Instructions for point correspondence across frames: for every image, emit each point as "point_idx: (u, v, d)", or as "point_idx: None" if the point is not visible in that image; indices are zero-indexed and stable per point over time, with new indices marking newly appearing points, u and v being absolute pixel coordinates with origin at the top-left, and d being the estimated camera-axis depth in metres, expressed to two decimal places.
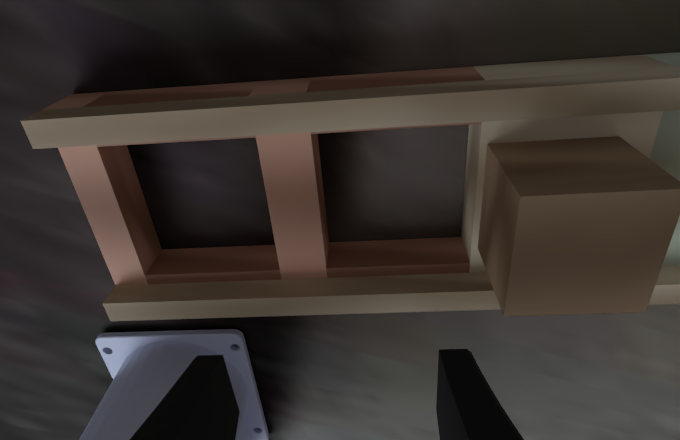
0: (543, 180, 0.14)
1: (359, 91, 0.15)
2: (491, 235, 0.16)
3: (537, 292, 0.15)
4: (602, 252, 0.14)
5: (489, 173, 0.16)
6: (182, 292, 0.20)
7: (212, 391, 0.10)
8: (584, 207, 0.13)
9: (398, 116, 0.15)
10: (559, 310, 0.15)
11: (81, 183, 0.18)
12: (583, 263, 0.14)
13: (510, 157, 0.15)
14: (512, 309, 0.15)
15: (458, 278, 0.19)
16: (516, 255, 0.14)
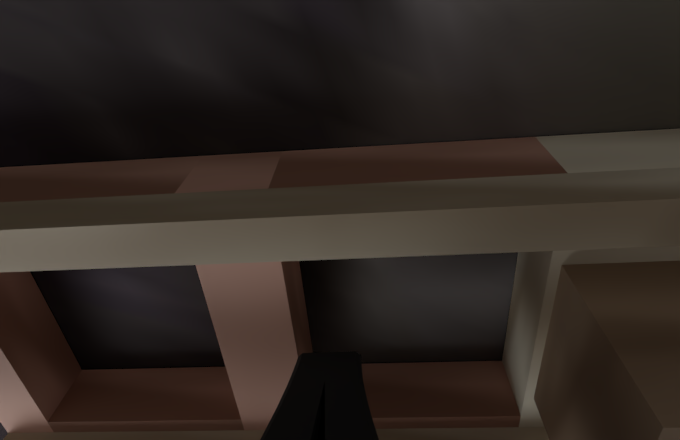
0: None
1: (356, 192, 0.09)
2: (568, 412, 0.10)
3: None
4: None
5: (566, 314, 0.10)
6: None
7: None
8: None
9: (423, 241, 0.09)
10: None
11: None
12: None
13: (611, 303, 0.09)
14: None
15: (504, 437, 0.13)
16: None
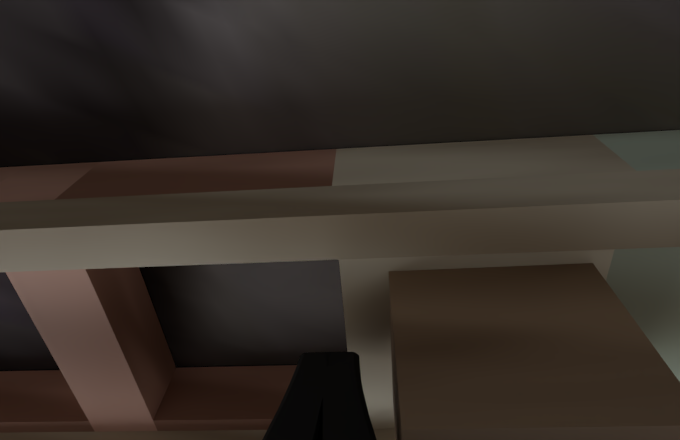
0: (451, 381, 0.08)
1: (129, 203, 0.09)
2: (395, 414, 0.10)
3: None
4: None
5: None
6: None
7: None
8: None
9: (180, 251, 0.09)
10: None
11: None
12: None
13: (415, 309, 0.09)
14: None
15: None
16: None
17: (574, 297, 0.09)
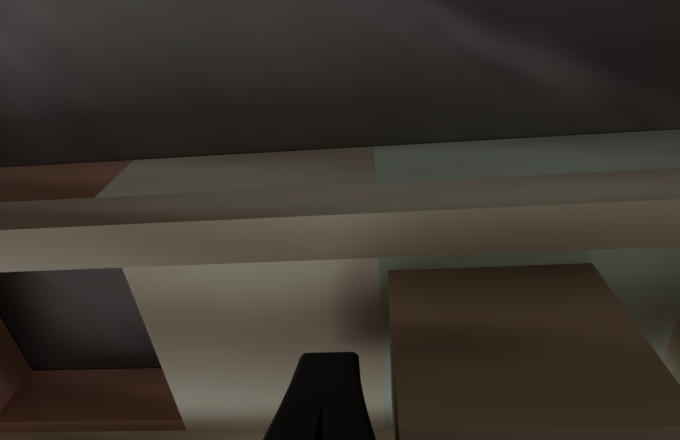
0: (450, 380, 0.08)
1: None
2: None
3: None
4: None
5: None
6: None
7: None
8: None
9: None
10: None
11: None
12: None
13: (413, 308, 0.09)
14: None
15: None
16: None
17: (573, 297, 0.09)
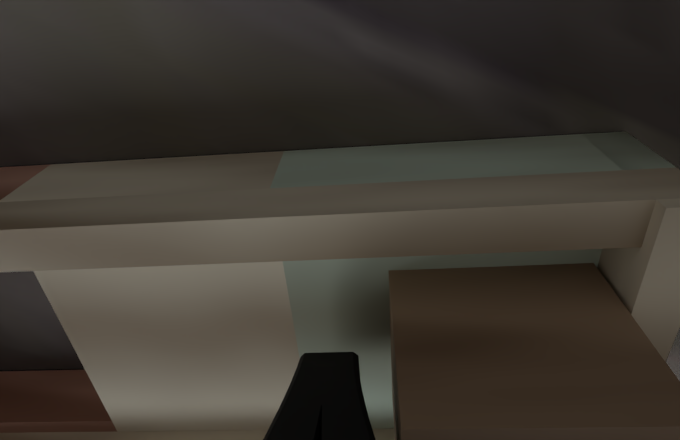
0: (451, 381, 0.08)
1: None
2: None
3: None
4: None
5: None
6: None
7: None
8: None
9: None
10: None
11: None
12: None
13: (415, 308, 0.09)
14: None
15: None
16: None
17: (575, 297, 0.09)
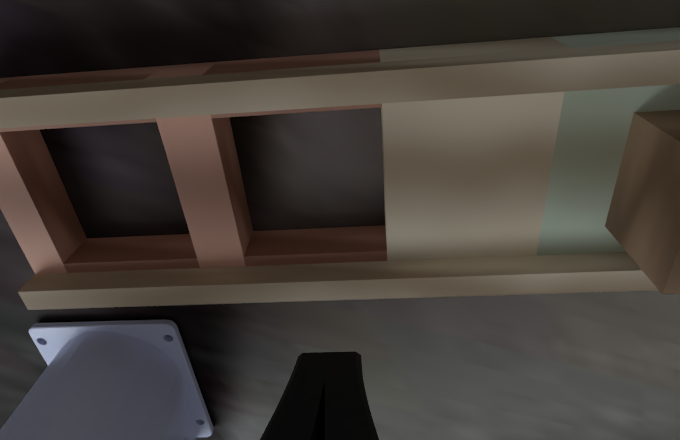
0: None
1: (252, 73, 0.15)
2: (638, 209, 0.15)
3: None
4: None
5: (637, 143, 0.15)
6: (99, 281, 0.19)
7: None
8: None
9: (288, 98, 0.14)
10: None
11: None
12: None
13: (670, 124, 0.14)
14: (673, 286, 0.14)
15: (375, 266, 0.19)
16: None
17: None
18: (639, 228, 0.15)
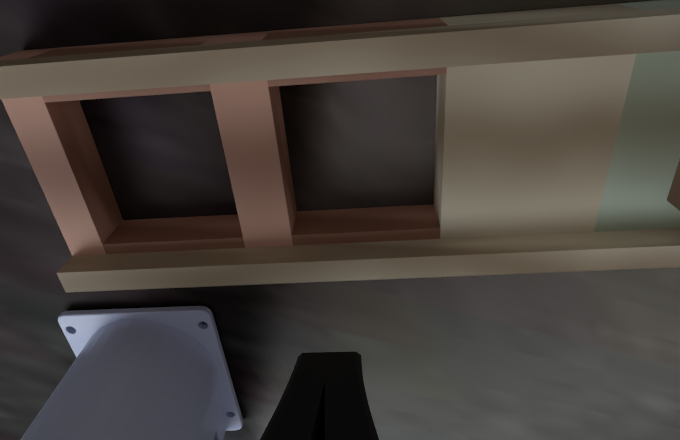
0: None
1: (316, 37, 0.14)
2: None
3: None
4: None
5: None
6: (141, 261, 0.19)
7: None
8: None
9: (356, 61, 0.14)
10: None
11: (30, 143, 0.17)
12: None
13: None
14: None
15: (429, 243, 0.18)
16: None
17: None
18: None
